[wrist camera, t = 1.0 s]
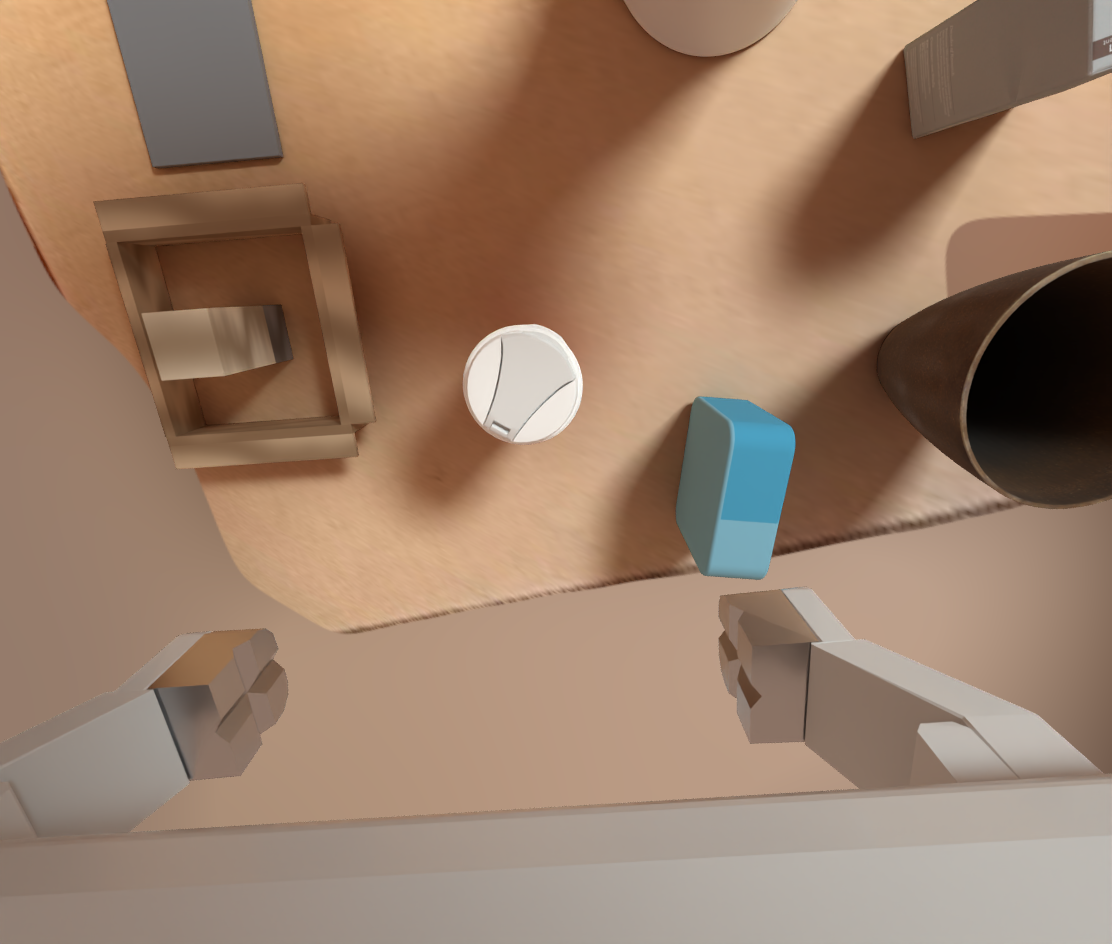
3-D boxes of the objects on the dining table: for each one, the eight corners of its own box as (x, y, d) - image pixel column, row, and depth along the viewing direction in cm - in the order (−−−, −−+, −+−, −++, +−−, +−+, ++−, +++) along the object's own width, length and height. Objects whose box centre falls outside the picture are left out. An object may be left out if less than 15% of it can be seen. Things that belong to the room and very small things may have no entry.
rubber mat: (97, -56, 38) (90, -61, 37) (236, -71, 38) (231, -77, 37) (158, 168, 42) (152, 166, 42) (283, 157, 42) (279, 155, 42)
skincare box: (1016, 2, 38) (1306, -184, 23) (1022, 113, 40) (1292, 7, 25) (894, 47, 39) (1098, -103, 24) (906, 153, 41) (1100, 75, 26)
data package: (720, 522, 51) (765, 588, 40) (673, 519, 51) (704, 584, 40) (744, 396, 48) (801, 430, 36) (693, 392, 47) (733, 425, 36)
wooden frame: (130, 209, 43) (89, 201, 40) (350, 190, 43) (330, 180, 39) (202, 455, 50) (172, 469, 46) (394, 442, 49) (380, 455, 45)
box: (229, 308, 46) (141, 313, 36) (281, 304, 46) (206, 308, 36) (242, 362, 47) (161, 380, 38) (293, 358, 47) (224, 375, 38)
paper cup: (550, 421, 48) (545, 471, 35) (473, 379, 47) (438, 413, 34) (595, 343, 46) (608, 364, 33) (515, 297, 45) (495, 299, 32)
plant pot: (939, 221, 43) (1144, 182, 28) (1050, 345, 46) (1291, 372, 31) (796, 367, 47) (907, 403, 31) (907, 473, 49) (1058, 554, 34)
